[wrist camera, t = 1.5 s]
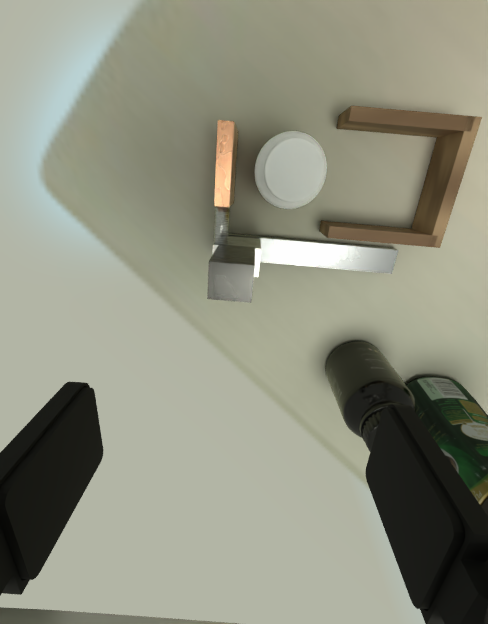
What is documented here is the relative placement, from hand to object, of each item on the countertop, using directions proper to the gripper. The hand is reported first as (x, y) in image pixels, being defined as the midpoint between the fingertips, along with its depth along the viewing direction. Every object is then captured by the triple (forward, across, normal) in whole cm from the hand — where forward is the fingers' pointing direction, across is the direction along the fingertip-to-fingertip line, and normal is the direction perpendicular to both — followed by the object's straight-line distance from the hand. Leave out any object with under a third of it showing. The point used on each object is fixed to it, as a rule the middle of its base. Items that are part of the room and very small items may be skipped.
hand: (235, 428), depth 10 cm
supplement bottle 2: (+25, -13, +12) cm, 31 cm away
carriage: (+24, +1, -6) cm, 25 cm away
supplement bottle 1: (+25, -3, -8) cm, 26 cm away
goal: (+25, -12, -8) cm, 28 cm away
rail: (+25, -6, -1) cm, 25 cm away
